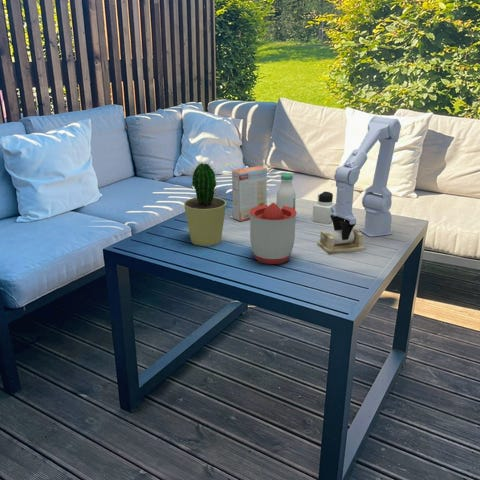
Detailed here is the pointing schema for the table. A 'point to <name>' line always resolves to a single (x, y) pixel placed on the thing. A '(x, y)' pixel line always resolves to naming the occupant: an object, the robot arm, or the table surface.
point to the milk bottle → (286, 192)
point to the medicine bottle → (323, 208)
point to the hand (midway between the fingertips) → (341, 236)
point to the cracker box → (248, 190)
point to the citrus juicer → (272, 233)
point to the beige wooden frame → (330, 248)
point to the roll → (338, 237)
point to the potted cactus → (205, 208)
